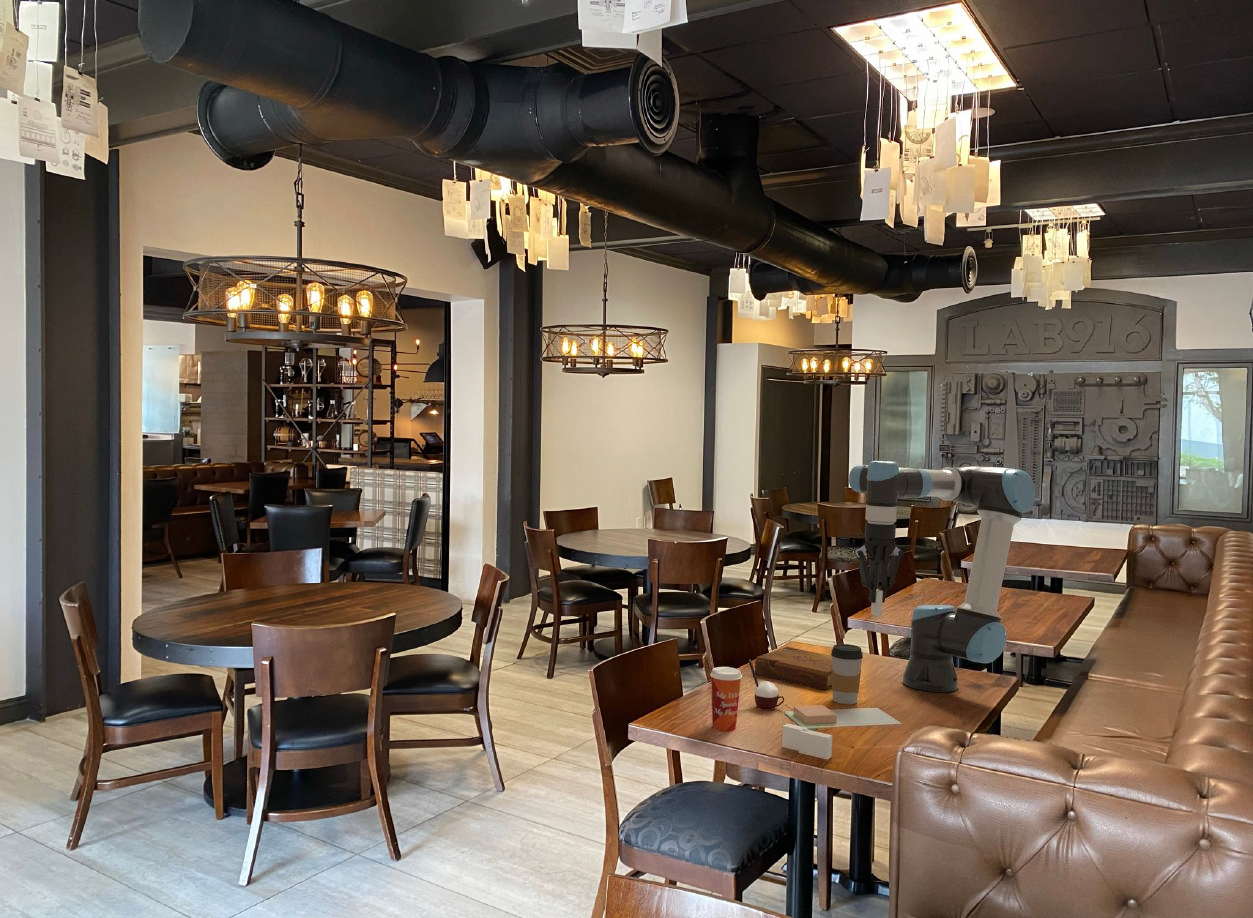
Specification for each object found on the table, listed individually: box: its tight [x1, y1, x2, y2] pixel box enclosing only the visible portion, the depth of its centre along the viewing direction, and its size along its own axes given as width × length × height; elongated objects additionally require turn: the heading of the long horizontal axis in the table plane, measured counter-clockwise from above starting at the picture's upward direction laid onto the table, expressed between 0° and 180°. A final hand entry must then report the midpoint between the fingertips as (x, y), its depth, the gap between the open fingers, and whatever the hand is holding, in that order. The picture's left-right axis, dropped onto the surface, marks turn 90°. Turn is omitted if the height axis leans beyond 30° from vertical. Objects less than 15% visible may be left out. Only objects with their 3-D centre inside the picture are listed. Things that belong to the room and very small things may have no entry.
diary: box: [754, 646, 832, 691], centre depth 282 cm, size 23×19×6 cm
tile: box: [793, 704, 837, 724], centre depth 241 cm, size 2×8×8 cm
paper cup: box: [710, 666, 743, 732], centre depth 233 cm, size 8×8×14 cm
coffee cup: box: [830, 643, 864, 706], centre depth 256 cm, size 8×8×15 cm
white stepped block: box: [781, 723, 833, 760], centre depth 219 cm, size 15×11×6 cm
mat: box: [783, 707, 903, 731], centre depth 242 cm, size 26×13×1 cm, turn 103°
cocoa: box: [748, 659, 785, 711], centre depth 250 cm, size 10×6×12 cm, turn 55°
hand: (876, 615), depth 243 cm, fingers closed
